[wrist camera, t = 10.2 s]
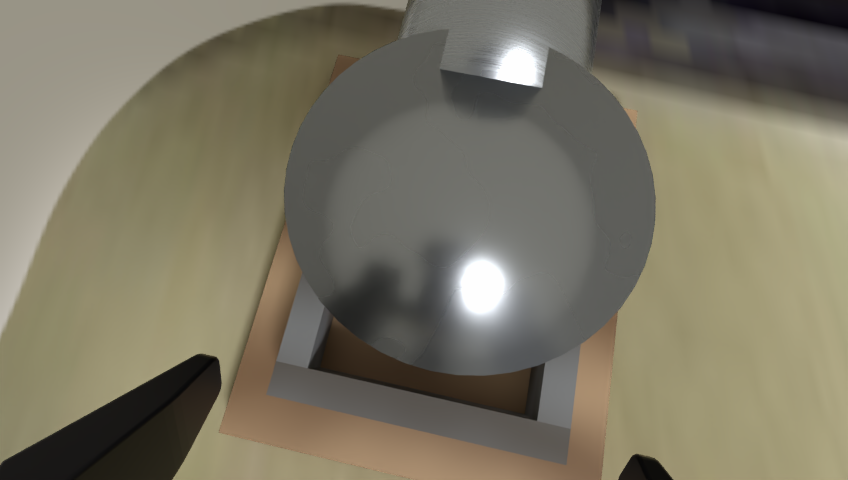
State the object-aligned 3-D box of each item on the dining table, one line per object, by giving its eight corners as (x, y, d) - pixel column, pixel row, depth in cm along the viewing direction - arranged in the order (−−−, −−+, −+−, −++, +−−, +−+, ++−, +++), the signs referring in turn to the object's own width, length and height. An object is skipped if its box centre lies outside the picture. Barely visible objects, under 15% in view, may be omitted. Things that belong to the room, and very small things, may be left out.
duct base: (587, 514, 17) (619, 546, 14) (229, 428, 18) (192, 442, 15) (628, 121, 22) (659, 85, 19) (341, 67, 23) (329, 25, 20)
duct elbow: (498, 378, 18) (647, 419, 6) (355, 346, 18) (227, 325, 6) (533, 159, 20) (686, -116, 8) (409, 135, 21) (388, -163, 9)
